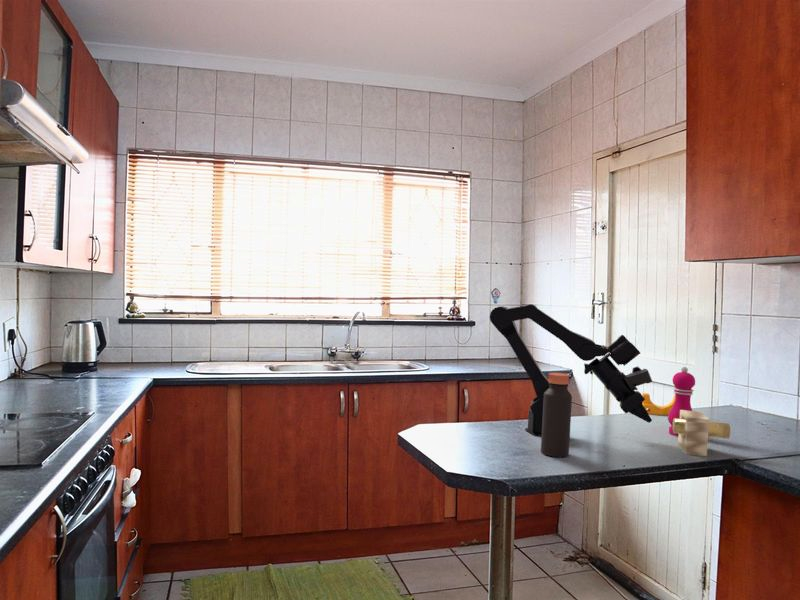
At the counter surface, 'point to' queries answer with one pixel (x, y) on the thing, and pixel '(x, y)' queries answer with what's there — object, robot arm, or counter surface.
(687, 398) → the pepper mill
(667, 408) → the pipe clamp
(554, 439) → the bottle
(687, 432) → the beige lumpy block
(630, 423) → the counter surface
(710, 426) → the tan wooden bar
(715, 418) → the counter surface
